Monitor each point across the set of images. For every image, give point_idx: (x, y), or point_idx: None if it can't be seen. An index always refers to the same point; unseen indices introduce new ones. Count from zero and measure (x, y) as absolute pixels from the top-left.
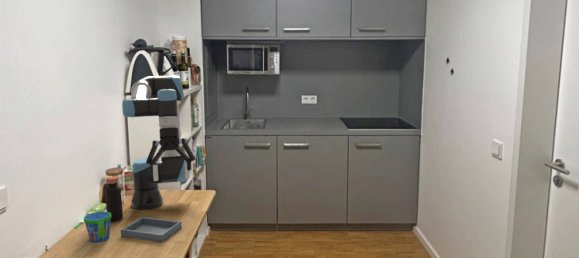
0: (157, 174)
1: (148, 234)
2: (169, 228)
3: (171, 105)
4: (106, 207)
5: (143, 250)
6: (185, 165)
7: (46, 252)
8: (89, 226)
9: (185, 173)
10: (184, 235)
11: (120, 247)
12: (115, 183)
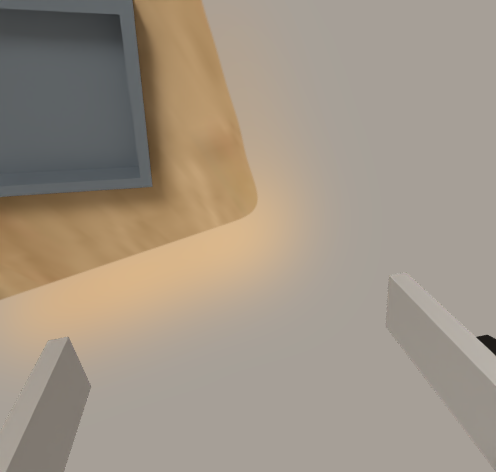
0: (50, 401)
1: (80, 189)
2: (133, 113)
3: None
4: None
5: (132, 242)
6: (484, 441)
7: None
8: None
9: (417, 363)
10: (199, 85)
11: (31, 254)
12: None
